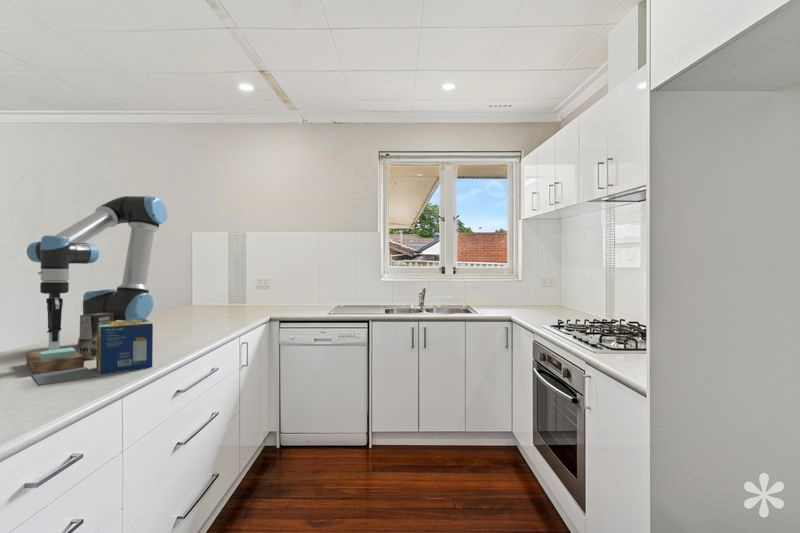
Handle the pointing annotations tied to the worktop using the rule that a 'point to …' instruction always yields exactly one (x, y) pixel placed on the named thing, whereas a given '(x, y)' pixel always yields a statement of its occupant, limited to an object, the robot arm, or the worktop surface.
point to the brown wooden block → (53, 363)
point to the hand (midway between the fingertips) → (54, 350)
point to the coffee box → (91, 332)
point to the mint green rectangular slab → (57, 353)
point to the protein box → (124, 345)
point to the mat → (63, 376)
